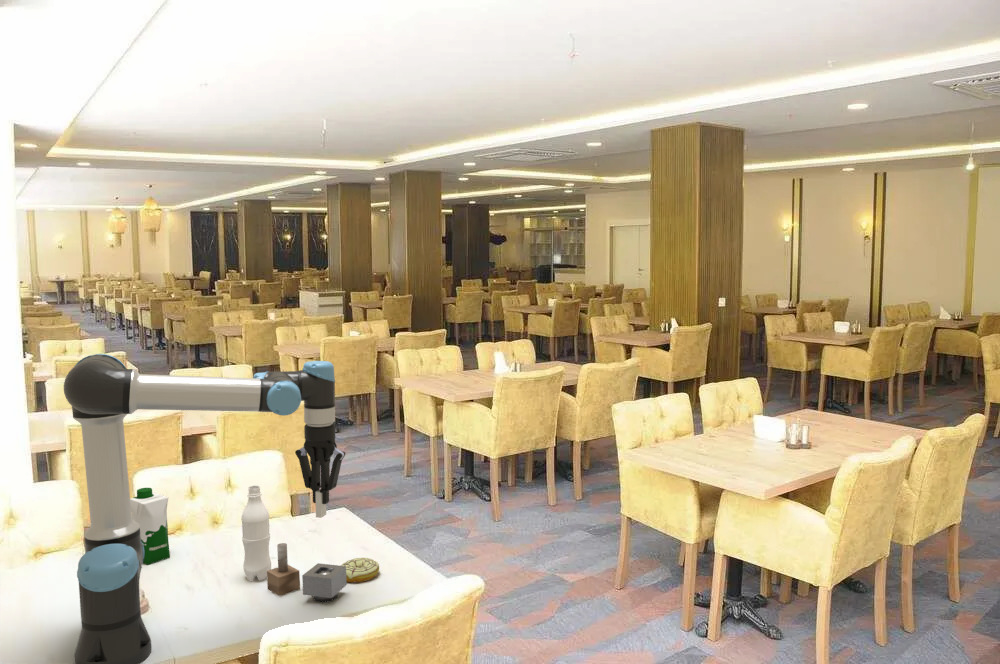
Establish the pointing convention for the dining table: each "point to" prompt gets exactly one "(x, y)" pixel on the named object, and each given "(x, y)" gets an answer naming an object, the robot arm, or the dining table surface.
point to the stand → (283, 574)
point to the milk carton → (151, 524)
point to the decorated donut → (360, 569)
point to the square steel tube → (324, 580)
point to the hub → (324, 599)
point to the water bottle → (256, 536)
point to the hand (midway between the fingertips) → (321, 515)
